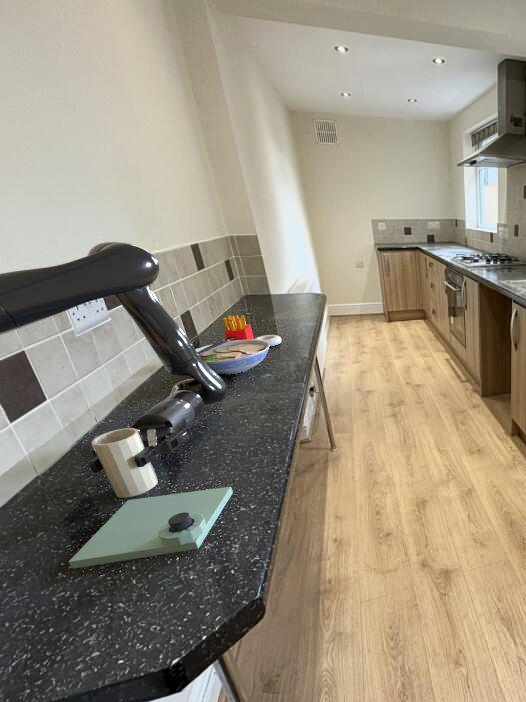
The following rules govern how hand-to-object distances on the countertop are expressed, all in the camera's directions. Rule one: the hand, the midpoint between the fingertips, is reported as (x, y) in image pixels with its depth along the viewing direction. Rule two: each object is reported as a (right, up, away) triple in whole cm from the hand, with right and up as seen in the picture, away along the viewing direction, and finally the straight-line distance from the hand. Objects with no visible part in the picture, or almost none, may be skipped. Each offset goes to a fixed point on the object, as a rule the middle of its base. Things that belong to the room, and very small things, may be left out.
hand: (116, 465), depth 72 cm
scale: (+12, -9, -5) cm, 16 cm away
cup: (-1, -5, +5) cm, 7 cm away
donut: (-25, +29, +87) cm, 95 cm away
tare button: (+19, -8, -9) cm, 22 cm away
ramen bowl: (-20, +18, +61) cm, 67 cm away
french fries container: (-28, +25, +77) cm, 85 cm away
